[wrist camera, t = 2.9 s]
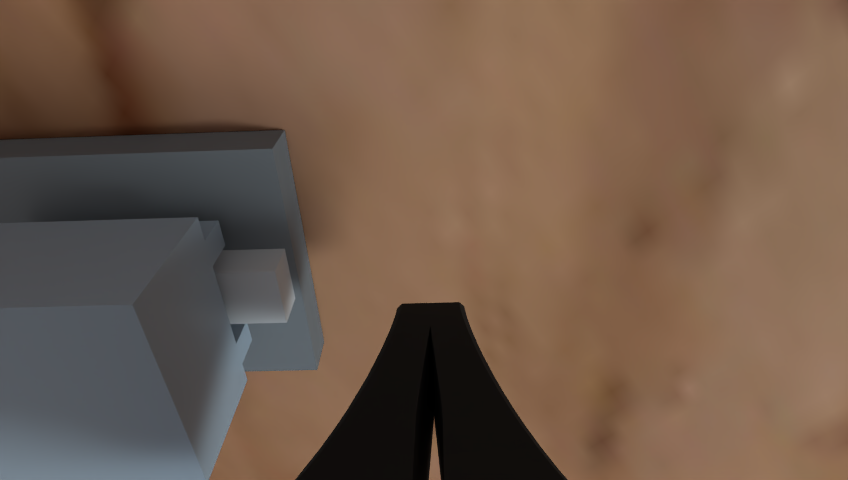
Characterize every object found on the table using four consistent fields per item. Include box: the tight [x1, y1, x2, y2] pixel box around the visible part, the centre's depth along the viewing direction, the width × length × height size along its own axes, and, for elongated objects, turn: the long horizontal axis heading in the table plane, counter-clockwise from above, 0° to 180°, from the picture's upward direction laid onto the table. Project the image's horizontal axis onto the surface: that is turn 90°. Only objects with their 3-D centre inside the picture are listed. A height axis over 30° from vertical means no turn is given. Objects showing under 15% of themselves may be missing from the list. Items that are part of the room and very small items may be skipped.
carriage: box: [0, 217, 252, 480], centre depth 12 cm, size 5×5×4 cm
